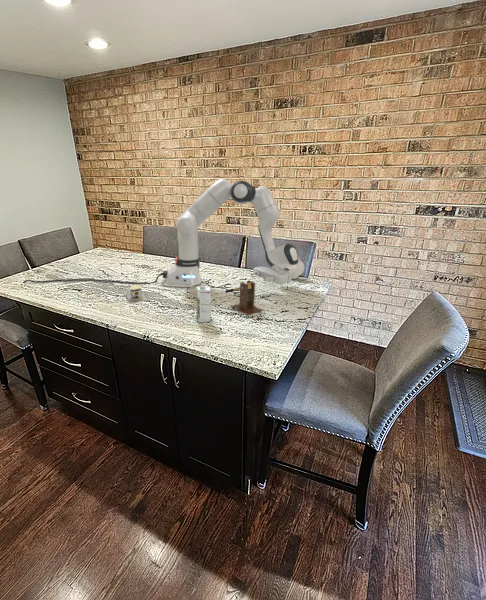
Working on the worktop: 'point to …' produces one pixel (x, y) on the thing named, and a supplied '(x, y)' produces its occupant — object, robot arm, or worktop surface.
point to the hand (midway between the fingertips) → (258, 277)
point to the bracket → (247, 299)
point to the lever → (238, 288)
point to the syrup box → (203, 303)
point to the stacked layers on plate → (136, 293)
